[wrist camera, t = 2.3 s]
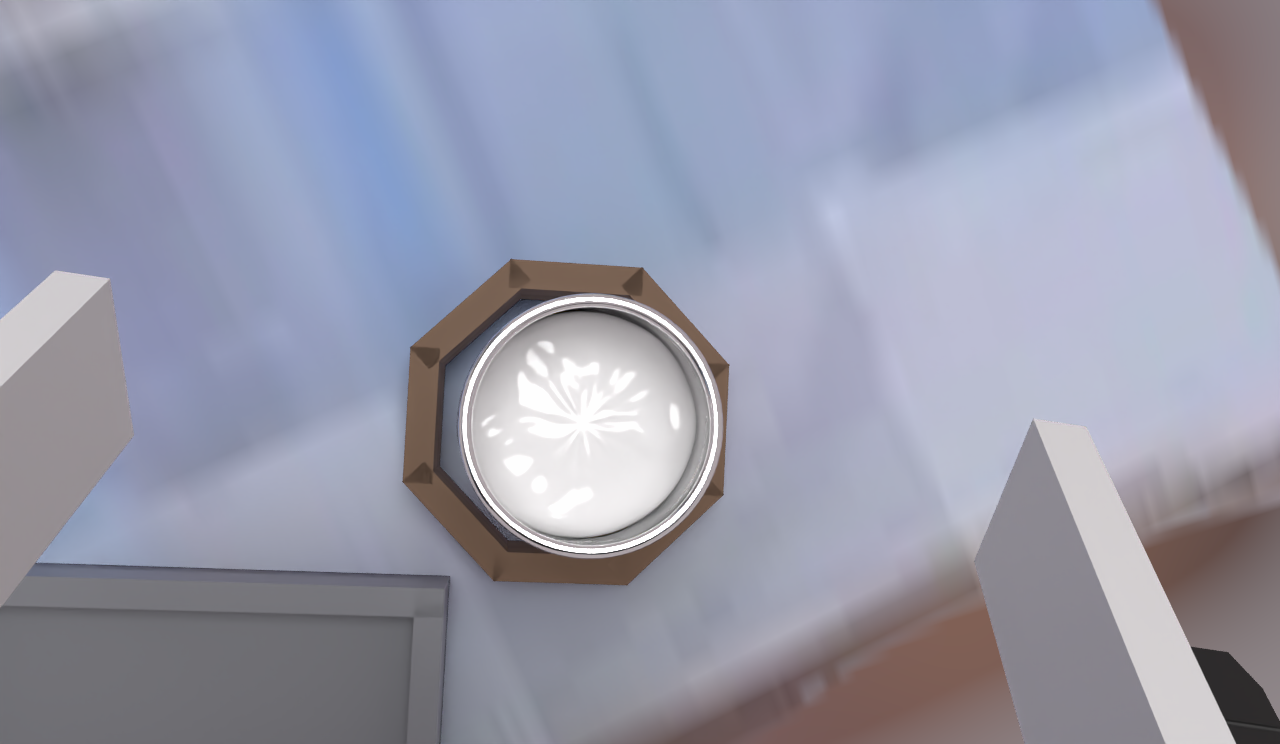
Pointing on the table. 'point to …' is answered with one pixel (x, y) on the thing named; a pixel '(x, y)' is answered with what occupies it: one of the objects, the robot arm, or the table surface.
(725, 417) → the ring holder
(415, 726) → the tray
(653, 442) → the beer glass
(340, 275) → the table surface
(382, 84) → the table surface
